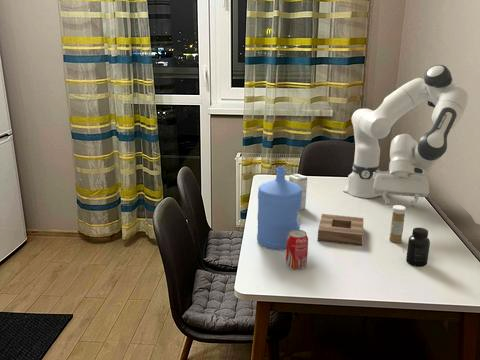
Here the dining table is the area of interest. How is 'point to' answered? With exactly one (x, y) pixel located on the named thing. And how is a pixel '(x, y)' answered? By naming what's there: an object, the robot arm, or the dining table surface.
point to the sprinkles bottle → (397, 223)
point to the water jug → (277, 211)
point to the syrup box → (302, 183)
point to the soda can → (296, 249)
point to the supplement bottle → (418, 248)
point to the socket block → (341, 229)
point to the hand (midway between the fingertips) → (400, 205)
